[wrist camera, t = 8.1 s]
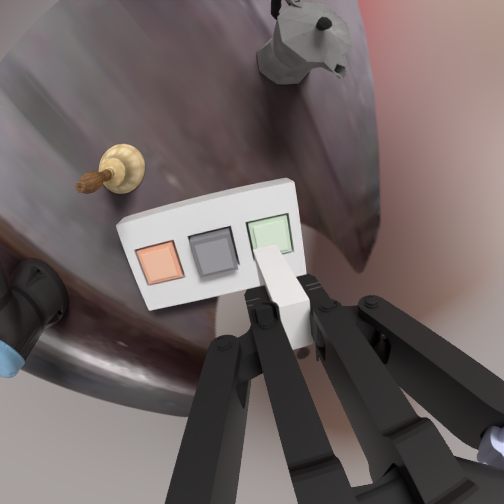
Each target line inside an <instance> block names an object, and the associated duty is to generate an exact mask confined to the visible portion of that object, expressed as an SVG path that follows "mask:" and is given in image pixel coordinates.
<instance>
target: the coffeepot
mask: <svg viewBox="0 0 504 504" xmlns="http://www.w3.org/2000/svg"><path fill="white" fill-rule="evenodd" d="M286 2H287V3H288V5H289V7H288V8H287V9H286V10H284V11H283V12H282V13H281V14H279V10H280V8H281V0H271V15H272V16H273V17H274V18H275V19H276V20H277V22H276V26H275V31H274V36H273V38H271V39H270V40H269V41H268V42H267V43H266V44H265V45H264V46H263V47H262V48H261V49H260V50H259V51H258V52H257V58H258V65H259V71H260V72H261V73H262V74H264V75H265V76H266V77H267V78H268V79H270V80H272V81H273V82H274V83H276V84H277V85H278V84H299V82H300V81H301V80H302V79H303V78H304V77H305V76H306V75H307V74H308V73H309V71H310V70H311V69H312V68H317V67H323V68H325V69H327V70H329V71H331V72H333V73H334V74H335V75H336V76H337V77H338V78H343V77H344V76H345V75H346V72H347V70H346V63H345V58H344V55H345V54H346V52H347V51H348V50H349V49H350V48H351V47H352V44H351V39H350V34H349V30H348V26H347V22H346V21H344V20H343V19H342V18H341V17H340V16H338V15H337V14H336V13H335V12H334V11H332V10H331V9H330V8H329V7H327V6H326V5H325V4H319V3H310V2H304V1H303V0H286Z"/></svg>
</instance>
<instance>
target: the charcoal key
mask: <svg viewBox="0 0 504 504" xmlns="http://www.w3.org/2000/svg"><path fill="white" fill-rule="evenodd" d="M190 246H191V249H192V252H193V256H194V259H195V262H196V266H197V269H198V272H199V275H200V278H203V277H208V276H212V275H216V274H221V273H225V272H229V271H233V270H238V265H237V261H236V256H235V252H234V248H233V244H232V239H231V235H230V231H229V227H225V228H221V229H217V230H212V231H208V232H204V233H200V234H196V235H192V236H191V238H190Z"/></svg>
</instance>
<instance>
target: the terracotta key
mask: <svg viewBox="0 0 504 504" xmlns="http://www.w3.org/2000/svg"><path fill="white" fill-rule="evenodd" d="M137 254H138V257H139V259H140V262H141V265H142V267H143V270H144V272H145V275H146V278H147V280H148V283H149V284H153V283H157V282H162V281H166V280H170V279H175V278H179V277H183V273H184V270H183V267H182V264H181V261H180V258H179V255H178V252H177V249H176V246H175V242H174V240H170V241H166V242H162V243H158V244H154V245H150V246H146V247H143V248H139V249H138V251H137Z"/></svg>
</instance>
